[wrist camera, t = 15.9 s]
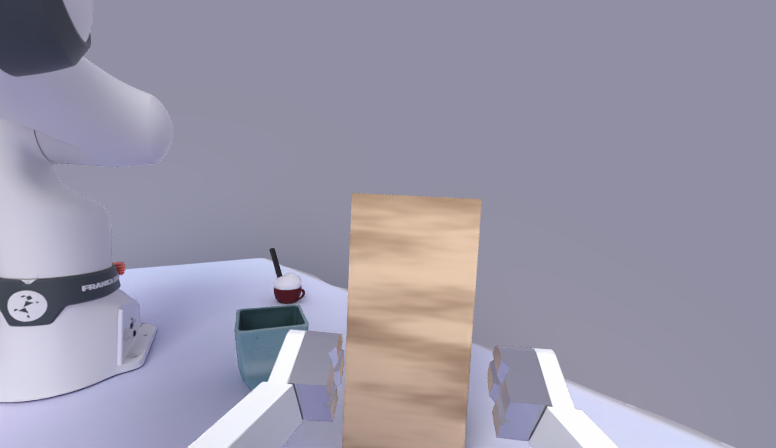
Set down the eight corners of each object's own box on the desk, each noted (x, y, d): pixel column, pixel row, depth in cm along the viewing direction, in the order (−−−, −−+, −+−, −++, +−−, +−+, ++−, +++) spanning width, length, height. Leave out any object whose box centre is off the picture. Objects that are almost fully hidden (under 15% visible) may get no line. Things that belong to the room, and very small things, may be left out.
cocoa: (308, 304, 80) (312, 254, 79) (284, 309, 76) (288, 256, 75) (286, 293, 87) (290, 247, 86) (263, 297, 82) (267, 248, 81)
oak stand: (357, 395, 44) (366, 194, 42) (451, 403, 43) (464, 198, 41) (341, 453, 34) (352, 193, 32) (463, 465, 33) (481, 199, 31)
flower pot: (235, 368, 49) (236, 308, 49) (298, 360, 53) (299, 303, 52) (233, 403, 41) (234, 331, 41) (307, 391, 45) (309, 324, 44)
